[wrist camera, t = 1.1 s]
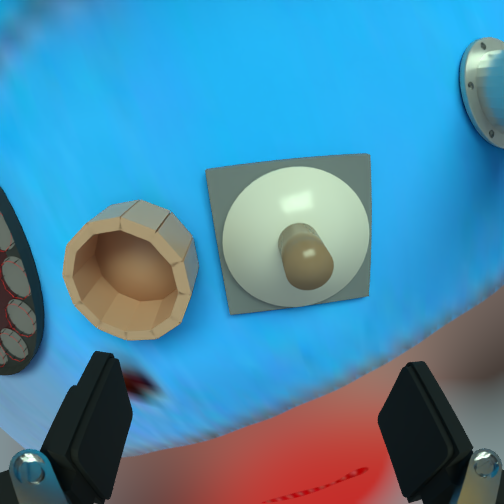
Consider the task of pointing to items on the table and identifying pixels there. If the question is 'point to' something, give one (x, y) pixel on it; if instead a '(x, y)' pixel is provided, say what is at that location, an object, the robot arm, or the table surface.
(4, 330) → the palette wheel
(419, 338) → the table surface
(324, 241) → the lid
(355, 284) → the mat
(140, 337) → the bowl
